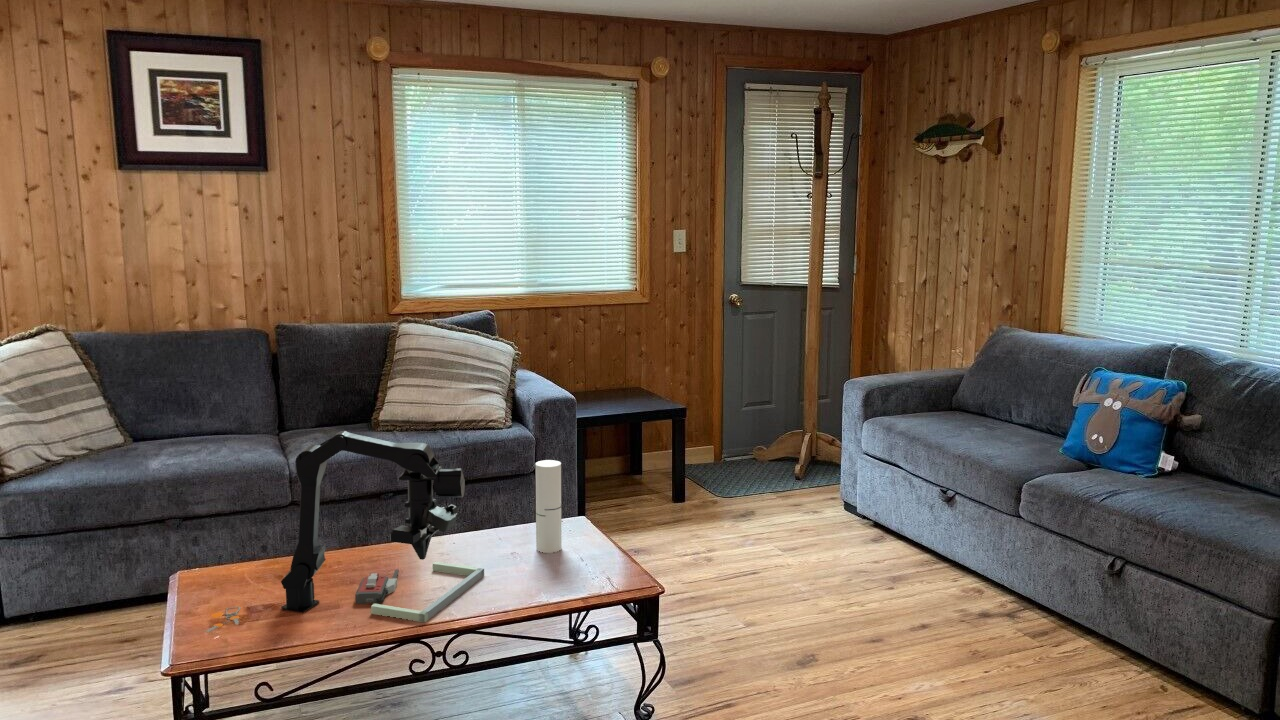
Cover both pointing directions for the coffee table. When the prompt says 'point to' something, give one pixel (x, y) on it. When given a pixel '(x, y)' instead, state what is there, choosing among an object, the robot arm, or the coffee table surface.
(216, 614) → the key chain
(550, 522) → the cylindrical container
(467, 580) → the green u-shaped bracket
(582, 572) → the coffee table surface
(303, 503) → the robot arm
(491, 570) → the coffee table surface
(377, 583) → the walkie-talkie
